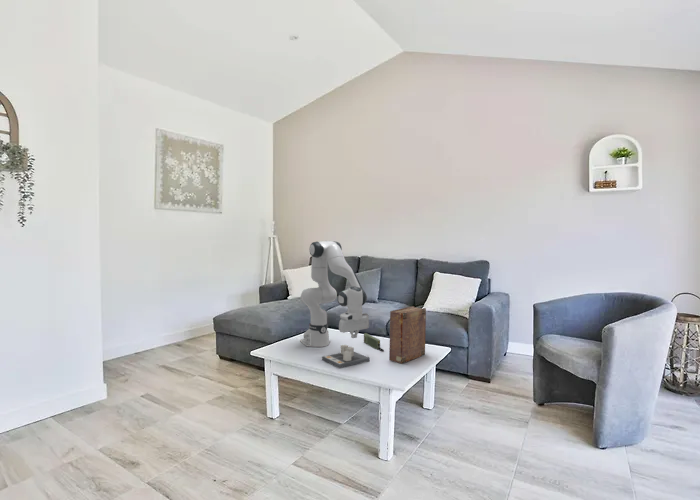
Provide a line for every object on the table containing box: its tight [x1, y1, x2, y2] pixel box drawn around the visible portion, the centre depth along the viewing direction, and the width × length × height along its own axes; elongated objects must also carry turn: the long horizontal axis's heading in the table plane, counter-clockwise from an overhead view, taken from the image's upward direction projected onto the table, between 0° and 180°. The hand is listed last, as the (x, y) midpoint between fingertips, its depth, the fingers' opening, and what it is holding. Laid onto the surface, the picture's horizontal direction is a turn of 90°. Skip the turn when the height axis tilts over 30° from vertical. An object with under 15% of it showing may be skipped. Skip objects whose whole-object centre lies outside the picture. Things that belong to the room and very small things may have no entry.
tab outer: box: [343, 351, 351, 361], centre depth 225 cm, size 3×4×5 cm
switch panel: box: [321, 351, 370, 369], centre depth 232 cm, size 18×22×2 cm
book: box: [388, 305, 427, 365], centre depth 239 cm, size 25×9×30 cm, turn 137°
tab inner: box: [340, 344, 349, 354], centre depth 238 cm, size 3×4×5 cm
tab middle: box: [346, 346, 355, 357], centre depth 233 cm, size 3×4×5 cm
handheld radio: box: [363, 332, 385, 352], centre depth 261 cm, size 7×3×25 cm
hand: (354, 337), depth 228 cm, fingers closed
